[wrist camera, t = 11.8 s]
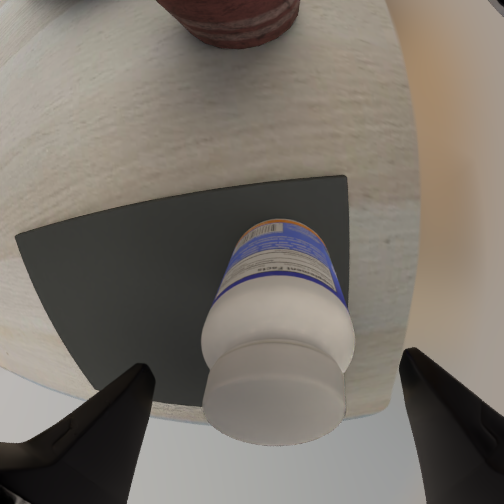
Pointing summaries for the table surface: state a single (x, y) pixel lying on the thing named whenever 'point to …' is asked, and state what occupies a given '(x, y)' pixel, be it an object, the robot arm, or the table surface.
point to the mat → (165, 274)
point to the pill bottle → (277, 339)
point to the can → (234, 20)
